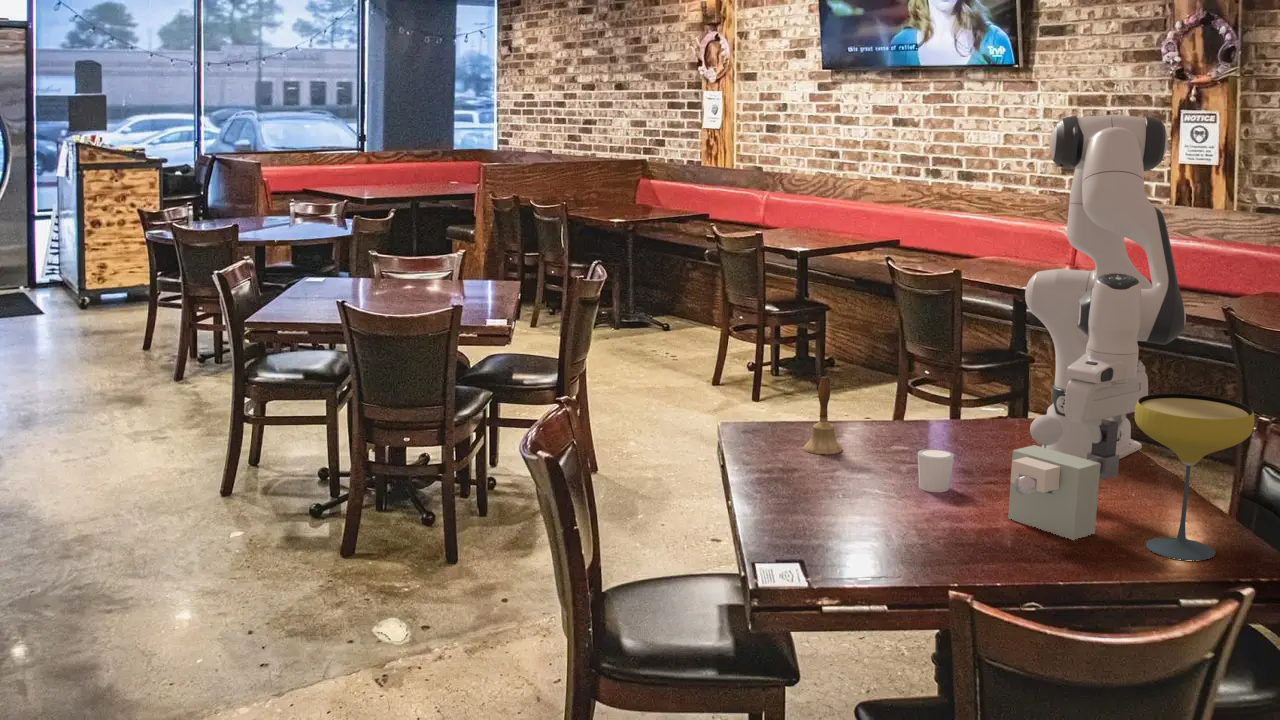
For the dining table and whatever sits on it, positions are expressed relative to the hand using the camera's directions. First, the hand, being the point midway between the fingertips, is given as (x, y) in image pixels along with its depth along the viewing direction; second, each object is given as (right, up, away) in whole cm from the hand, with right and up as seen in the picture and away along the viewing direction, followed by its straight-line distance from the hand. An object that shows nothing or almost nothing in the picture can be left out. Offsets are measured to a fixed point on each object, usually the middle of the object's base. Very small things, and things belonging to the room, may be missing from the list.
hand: (1104, 440), depth 230 cm
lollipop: (-7, -11, +15) cm, 20 cm away
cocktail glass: (+7, -18, -16) cm, 25 cm away
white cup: (-27, -11, +16) cm, 33 cm away
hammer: (-9, -8, -5) cm, 12 cm away
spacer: (-16, -7, -10) cm, 20 cm away
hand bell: (-45, -5, +42) cm, 62 cm away
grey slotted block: (-11, -15, -5) cm, 20 cm away
